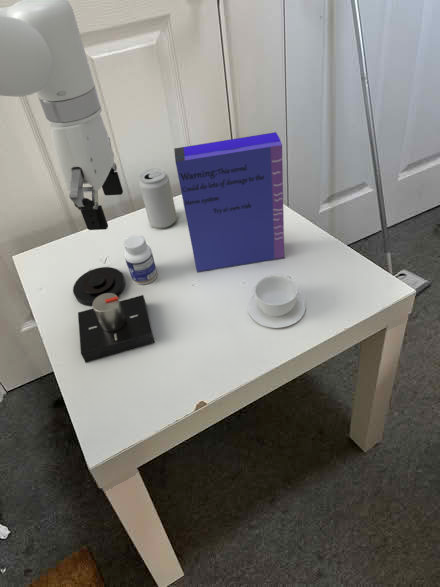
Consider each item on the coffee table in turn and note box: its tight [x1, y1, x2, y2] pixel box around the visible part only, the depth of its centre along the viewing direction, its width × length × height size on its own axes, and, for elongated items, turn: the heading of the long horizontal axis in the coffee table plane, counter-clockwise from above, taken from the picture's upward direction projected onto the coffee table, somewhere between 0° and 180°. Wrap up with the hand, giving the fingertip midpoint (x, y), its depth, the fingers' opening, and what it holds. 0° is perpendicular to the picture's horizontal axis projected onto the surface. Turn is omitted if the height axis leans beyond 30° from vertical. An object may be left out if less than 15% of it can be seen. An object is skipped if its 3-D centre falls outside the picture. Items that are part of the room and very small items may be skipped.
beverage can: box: [138, 168, 178, 229], centre depth 100 cm, size 6×6×12 cm
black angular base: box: [77, 294, 156, 363], centre depth 80 cm, size 12×10×3 cm
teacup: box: [247, 274, 307, 329], centre depth 79 cm, size 10×10×5 cm
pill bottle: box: [123, 234, 158, 286], centre depth 88 cm, size 5×5×9 cm
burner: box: [72, 266, 126, 307], centre depth 89 cm, size 10×10×2 cm
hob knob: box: [91, 293, 126, 332], centre depth 77 cm, size 4×4×5 cm
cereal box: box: [173, 131, 285, 273], centre depth 84 cm, size 17×5×24 cm, turn 97°
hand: (106, 210), depth 74 cm, fingers open, 9 cm apart
